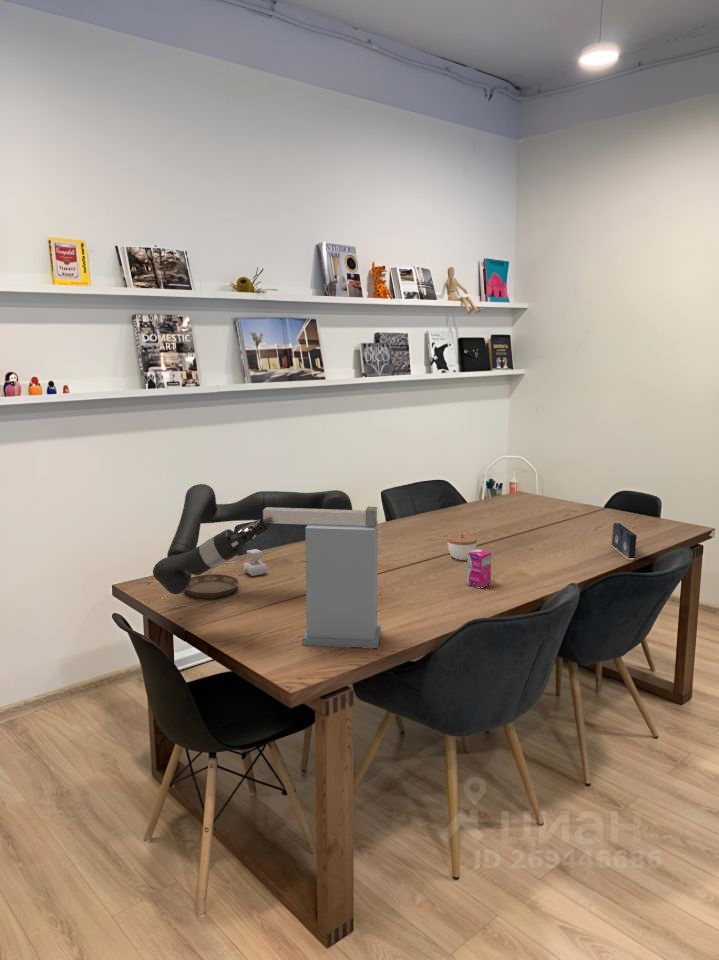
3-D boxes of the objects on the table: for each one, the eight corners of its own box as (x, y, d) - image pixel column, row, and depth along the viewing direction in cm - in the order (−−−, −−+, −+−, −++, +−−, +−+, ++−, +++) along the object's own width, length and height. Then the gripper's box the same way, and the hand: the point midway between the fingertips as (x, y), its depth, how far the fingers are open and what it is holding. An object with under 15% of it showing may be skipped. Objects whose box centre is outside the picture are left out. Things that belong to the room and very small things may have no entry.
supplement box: (466, 585, 246) (467, 552, 244) (476, 581, 250) (477, 548, 248) (480, 589, 242) (481, 555, 240) (491, 585, 246) (492, 552, 244)
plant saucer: (250, 588, 243) (249, 579, 243) (213, 604, 229) (212, 595, 228) (209, 579, 252) (209, 570, 252) (171, 594, 238) (171, 585, 237)
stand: (302, 645, 198) (300, 528, 192) (310, 627, 210) (309, 517, 204) (377, 648, 196) (377, 531, 190) (380, 631, 208) (381, 519, 202)
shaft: (262, 523, 197) (262, 506, 197) (267, 519, 202) (266, 503, 201) (374, 527, 194) (375, 510, 193) (376, 523, 198) (377, 506, 197)
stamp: (247, 579, 252) (247, 555, 250) (239, 574, 257) (238, 550, 256) (271, 574, 257) (270, 551, 255) (262, 569, 262) (262, 546, 261)
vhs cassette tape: (635, 561, 273) (636, 535, 272) (626, 561, 273) (628, 535, 272) (618, 547, 291) (620, 522, 290) (611, 547, 291) (612, 522, 290)
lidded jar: (475, 554, 281) (475, 530, 279) (476, 563, 271) (477, 538, 269) (446, 553, 282) (447, 529, 280) (447, 562, 272) (447, 537, 270)
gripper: (205, 544, 195) (256, 515, 191) (221, 530, 208) (269, 503, 205) (220, 568, 195) (271, 539, 192) (234, 553, 209) (283, 526, 206)
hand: (270, 521), depth 199 cm, fingers open, 8 cm apart
